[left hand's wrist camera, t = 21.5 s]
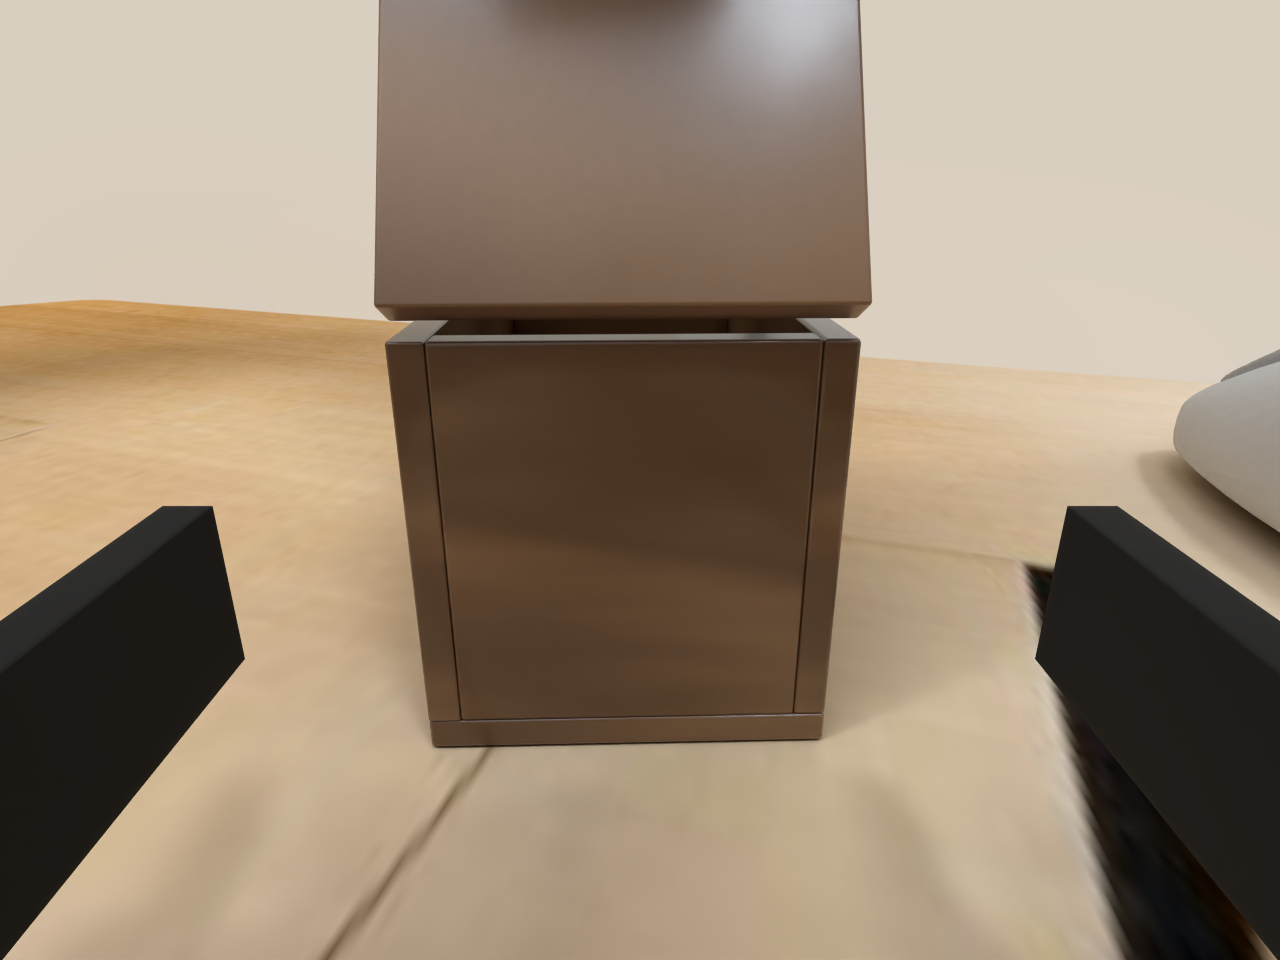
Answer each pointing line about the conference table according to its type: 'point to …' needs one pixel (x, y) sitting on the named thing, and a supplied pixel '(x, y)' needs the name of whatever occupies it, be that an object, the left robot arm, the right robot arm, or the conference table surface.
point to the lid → (620, 160)
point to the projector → (1238, 436)
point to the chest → (624, 524)
